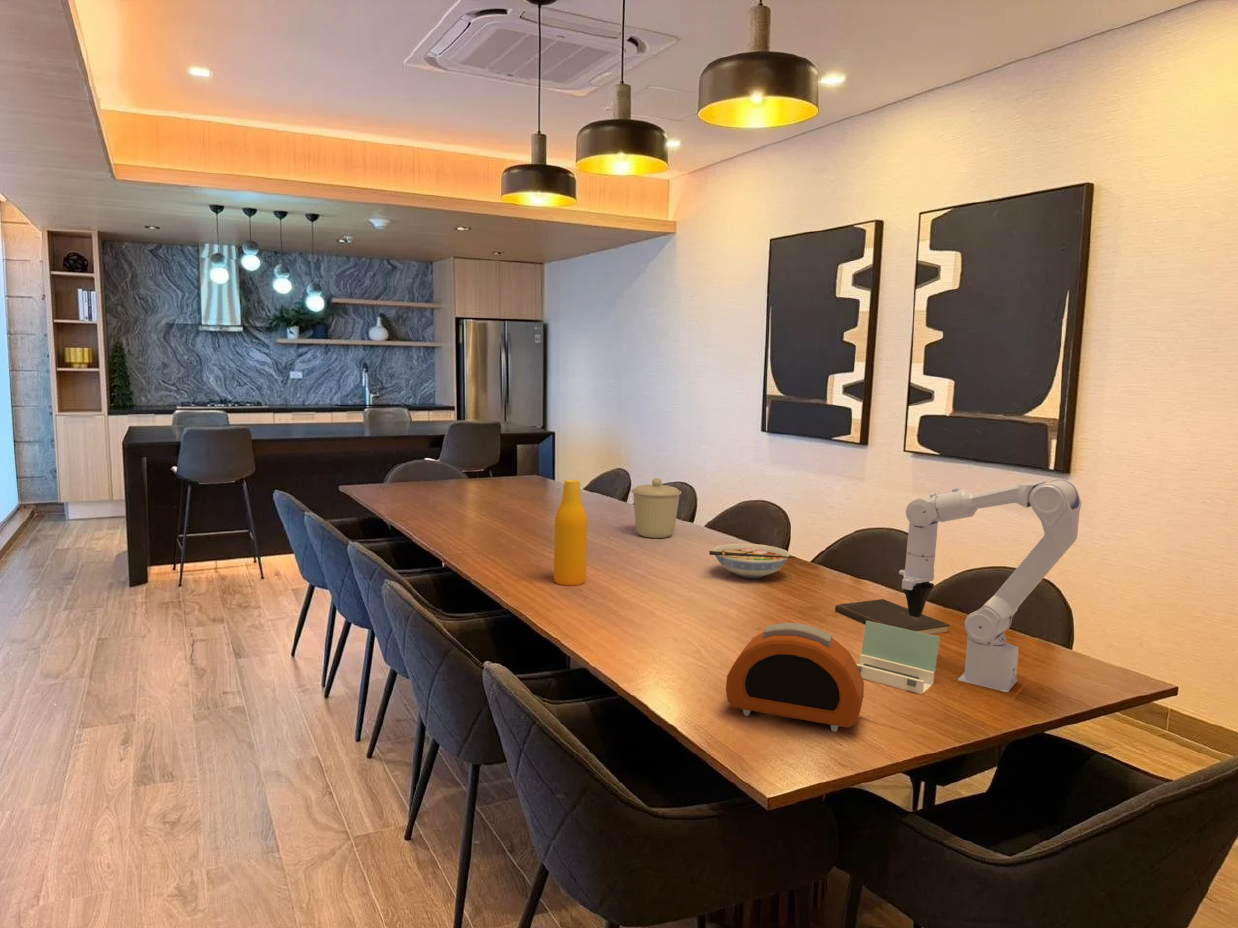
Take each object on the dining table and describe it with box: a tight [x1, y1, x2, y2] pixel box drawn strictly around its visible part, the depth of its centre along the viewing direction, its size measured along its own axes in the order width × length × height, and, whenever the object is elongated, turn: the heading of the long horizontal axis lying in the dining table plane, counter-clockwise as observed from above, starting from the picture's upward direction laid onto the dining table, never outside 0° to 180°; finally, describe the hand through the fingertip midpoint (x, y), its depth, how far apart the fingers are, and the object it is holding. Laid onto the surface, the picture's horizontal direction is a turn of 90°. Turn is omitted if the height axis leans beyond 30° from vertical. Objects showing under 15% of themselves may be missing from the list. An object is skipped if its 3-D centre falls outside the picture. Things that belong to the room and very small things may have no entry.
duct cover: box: [861, 621, 941, 673], centre depth 169 cm, size 15×7×1 cm
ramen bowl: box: [708, 542, 797, 579], centre depth 247 cm, size 25×23×8 cm
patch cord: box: [863, 663, 919, 679], centre depth 166 cm, size 11×2×2 cm, turn 52°
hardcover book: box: [834, 598, 951, 635], centre depth 207 cm, size 16×23×2 cm
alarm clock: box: [725, 622, 865, 733], centre depth 148 cm, size 23×9×17 cm, turn 69°
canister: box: [631, 477, 682, 539], centre depth 300 cm, size 18×18×21 cm
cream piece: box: [856, 653, 935, 695], centre depth 166 cm, size 15×8×3 cm, turn 52°
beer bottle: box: [553, 479, 588, 587], centre depth 233 cm, size 9×9×29 cm
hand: (915, 615), depth 177 cm, fingers closed
